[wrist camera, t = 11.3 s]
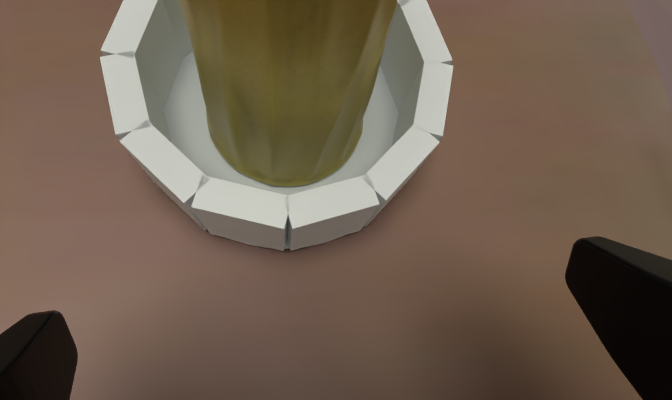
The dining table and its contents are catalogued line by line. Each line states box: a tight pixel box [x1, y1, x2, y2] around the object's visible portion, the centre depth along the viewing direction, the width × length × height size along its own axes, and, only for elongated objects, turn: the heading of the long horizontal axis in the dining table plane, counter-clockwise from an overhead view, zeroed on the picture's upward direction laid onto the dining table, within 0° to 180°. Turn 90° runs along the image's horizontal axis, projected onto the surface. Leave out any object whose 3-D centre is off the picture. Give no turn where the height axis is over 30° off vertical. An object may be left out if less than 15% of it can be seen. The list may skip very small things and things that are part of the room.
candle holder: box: [100, 0, 453, 251], centre depth 16 cm, size 11×11×4 cm
